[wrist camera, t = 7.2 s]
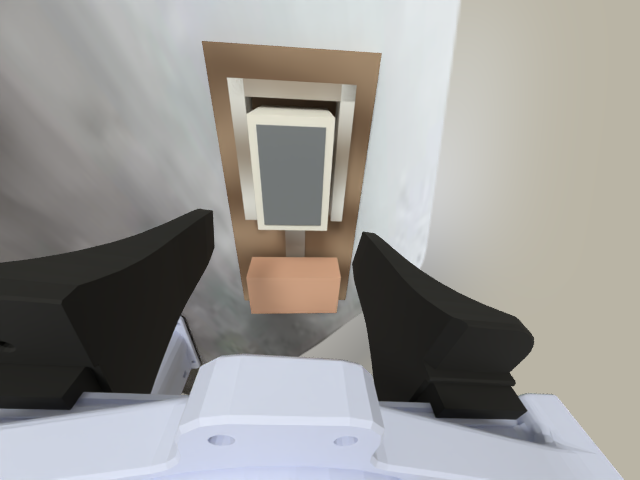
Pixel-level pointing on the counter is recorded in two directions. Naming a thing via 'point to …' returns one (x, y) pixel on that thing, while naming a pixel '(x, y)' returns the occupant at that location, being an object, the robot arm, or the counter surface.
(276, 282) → the peach rectangular block
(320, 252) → the rail board
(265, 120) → the block
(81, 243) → the counter surface
